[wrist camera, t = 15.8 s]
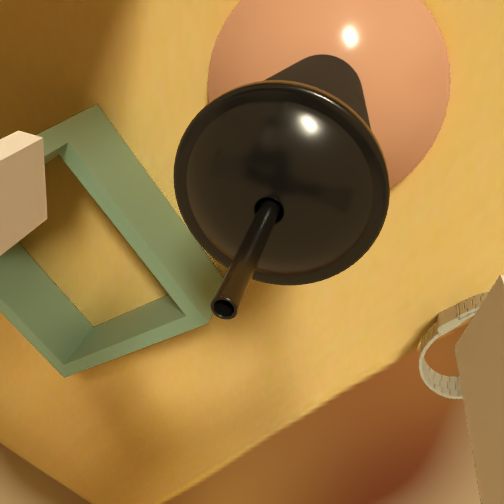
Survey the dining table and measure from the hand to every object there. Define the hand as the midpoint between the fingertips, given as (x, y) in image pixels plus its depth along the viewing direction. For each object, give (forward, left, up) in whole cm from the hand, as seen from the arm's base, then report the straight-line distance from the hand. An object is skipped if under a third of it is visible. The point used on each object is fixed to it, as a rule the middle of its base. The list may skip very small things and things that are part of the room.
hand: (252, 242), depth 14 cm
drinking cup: (0, 0, -17) cm, 17 cm away
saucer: (0, 0, -18) cm, 18 cm away
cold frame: (+1, -22, -18) cm, 29 cm away
